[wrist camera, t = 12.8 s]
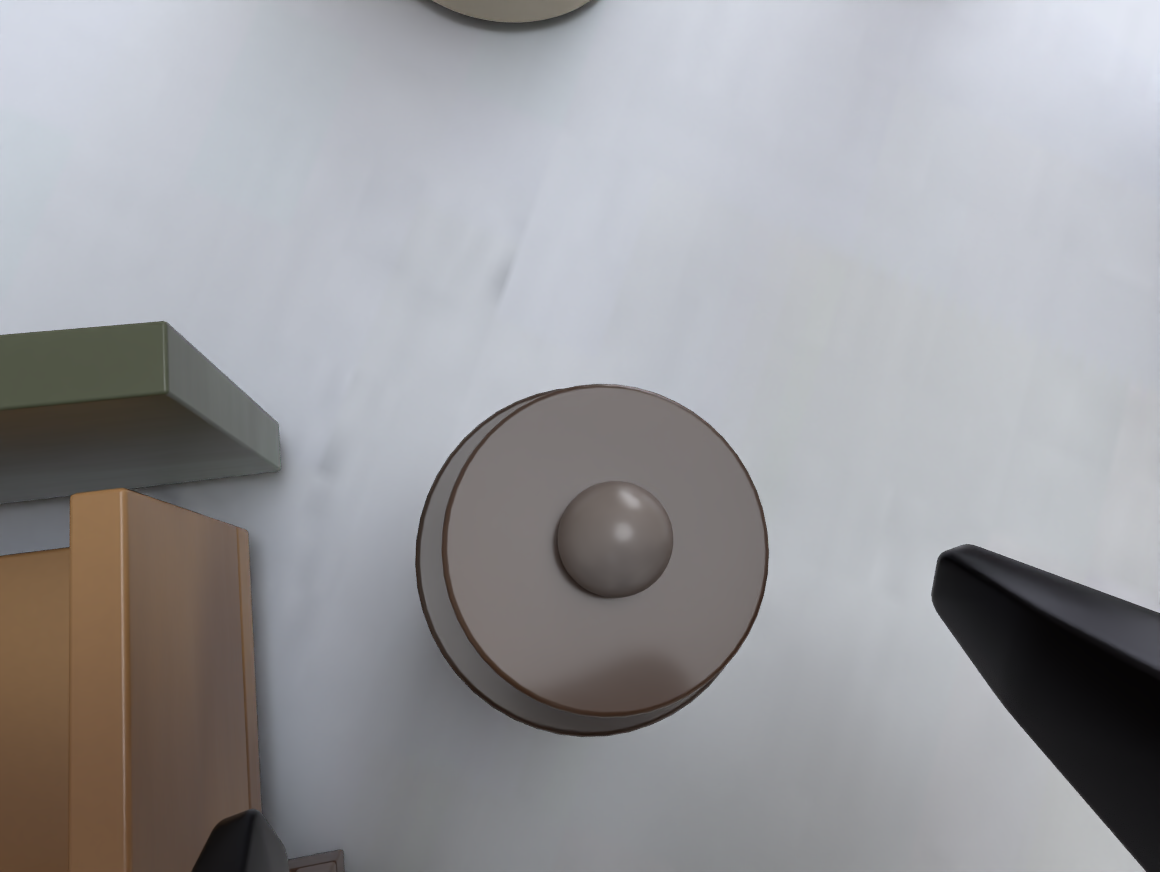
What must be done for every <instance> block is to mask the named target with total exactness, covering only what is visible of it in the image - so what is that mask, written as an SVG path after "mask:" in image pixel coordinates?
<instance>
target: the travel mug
mask: <svg viewBox="0 0 1160 872" xmlns="http://www.w3.org/2000/svg"><path fill="white" fill-rule="evenodd" d="M432 1H434V2H436V3H437V4H439V5H441V6H443V7H446V8H448V9H450V10H452V11H455V12H458V13H461V14H464V15H467V16H471V17H474V18H478V19H483V20H489V21H497V22H518V23H520V22H533V21H539V20H545V19H549V18H553V17H557V16H560V15H563V14H566V13H568V12H571V11H573V10H575V9H577V8H579V7H581V6H583V5H584V4H586V3H588V2H589V1H591V0H432Z"/></svg>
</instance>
